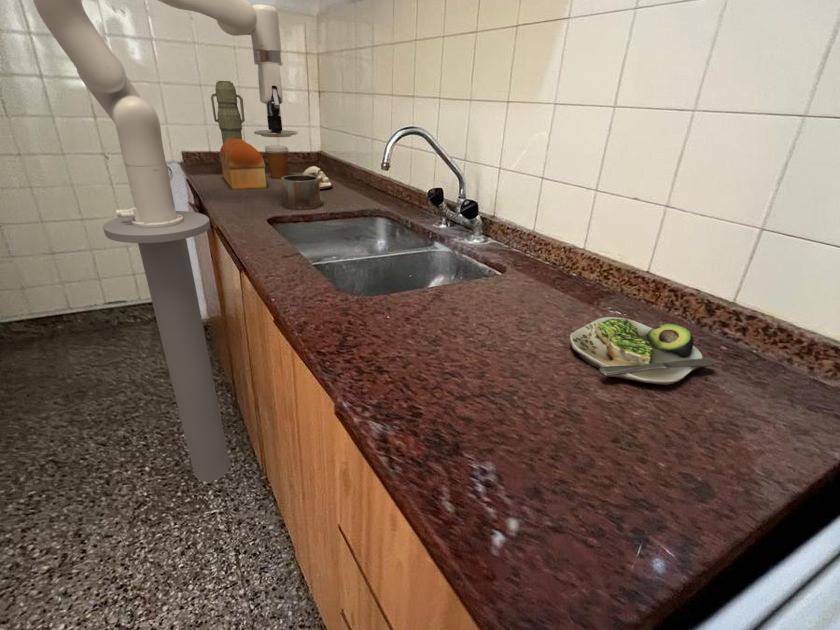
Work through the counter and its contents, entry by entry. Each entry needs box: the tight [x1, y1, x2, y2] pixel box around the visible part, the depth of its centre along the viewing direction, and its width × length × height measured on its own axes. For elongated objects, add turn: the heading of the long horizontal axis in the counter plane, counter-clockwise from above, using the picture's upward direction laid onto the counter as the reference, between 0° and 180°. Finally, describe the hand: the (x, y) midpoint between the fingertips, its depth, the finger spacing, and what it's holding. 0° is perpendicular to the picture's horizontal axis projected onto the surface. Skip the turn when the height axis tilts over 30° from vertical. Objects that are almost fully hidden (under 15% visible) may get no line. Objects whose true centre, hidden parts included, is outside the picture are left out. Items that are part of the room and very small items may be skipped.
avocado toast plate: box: [568, 316, 717, 386], centre depth 66 cm, size 19×18×5 cm
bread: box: [219, 138, 267, 190], centre depth 172 cm, size 25×12×15 cm, turn 29°
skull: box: [302, 165, 333, 190], centre depth 171 cm, size 12×10×10 cm
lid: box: [253, 109, 299, 138], centre depth 132 cm, size 12×12×7 cm
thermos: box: [210, 80, 246, 145], centre depth 185 cm, size 9×12×35 cm
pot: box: [280, 174, 321, 210], centre depth 143 cm, size 11×11×8 cm
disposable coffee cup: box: [264, 144, 290, 179], centre depth 186 cm, size 10×10×12 cm
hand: (275, 129), depth 133 cm, fingers closed on lid, 2 cm apart
